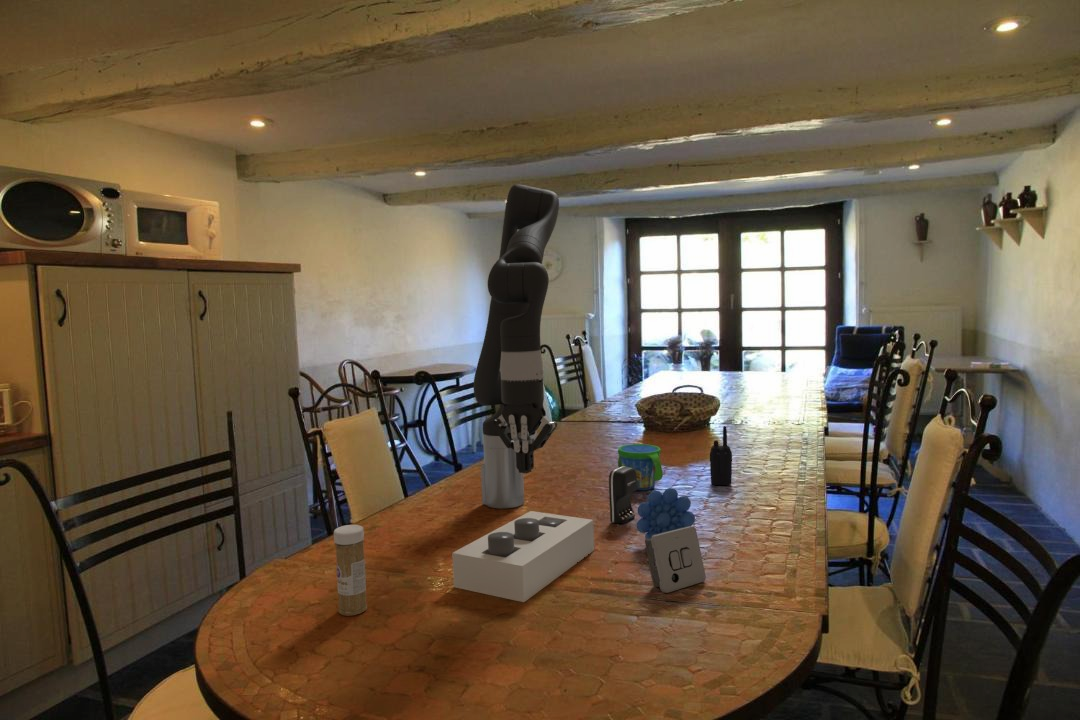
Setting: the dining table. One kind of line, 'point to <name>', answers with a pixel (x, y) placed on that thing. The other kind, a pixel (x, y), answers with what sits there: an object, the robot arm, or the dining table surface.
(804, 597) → the dining table surface
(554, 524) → the knob
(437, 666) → the dining table surface
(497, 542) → the knob
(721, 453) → the two-way radio
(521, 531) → the knob
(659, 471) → the snack cup
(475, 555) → the knob panel
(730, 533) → the dining table surface
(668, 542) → the electrical switch
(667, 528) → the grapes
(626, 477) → the battery charger
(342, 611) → the sprinkles bottle
